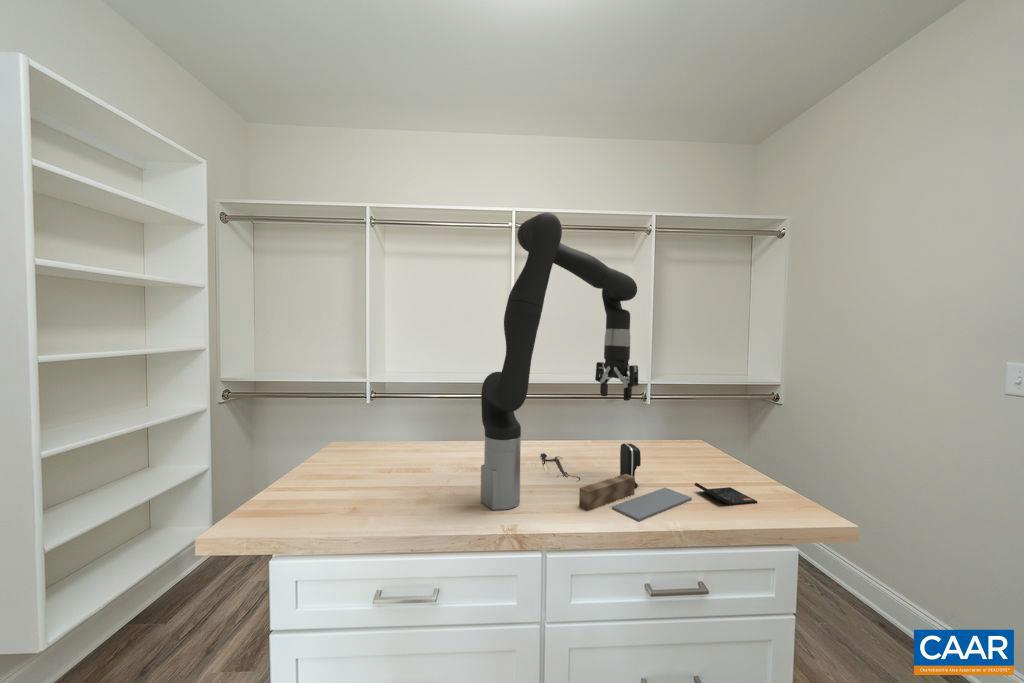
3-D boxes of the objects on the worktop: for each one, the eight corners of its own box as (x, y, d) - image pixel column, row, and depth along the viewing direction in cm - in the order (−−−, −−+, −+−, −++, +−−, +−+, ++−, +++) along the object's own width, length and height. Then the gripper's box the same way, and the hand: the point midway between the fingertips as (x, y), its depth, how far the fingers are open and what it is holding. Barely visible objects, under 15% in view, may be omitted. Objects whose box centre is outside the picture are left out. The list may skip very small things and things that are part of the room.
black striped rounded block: (641, 488, 111) (642, 448, 111) (628, 489, 111) (629, 448, 111) (631, 479, 118) (632, 441, 118) (619, 479, 118) (620, 441, 118)
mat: (638, 521, 92) (638, 519, 92) (611, 508, 98) (611, 506, 98) (691, 499, 104) (691, 497, 104) (664, 489, 111) (665, 487, 111)
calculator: (757, 504, 103) (757, 493, 103) (718, 508, 100) (718, 496, 100) (730, 490, 112) (730, 479, 112) (694, 493, 109) (694, 482, 109)
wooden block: (587, 512, 97) (588, 491, 97) (579, 507, 99) (579, 487, 99) (634, 495, 107) (634, 477, 107) (625, 491, 110) (625, 473, 110)
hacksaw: (539, 456, 140) (539, 452, 140) (568, 456, 140) (568, 452, 140) (546, 482, 116) (546, 477, 116) (581, 482, 116) (581, 477, 116)
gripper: (590, 343, 122) (588, 395, 122) (628, 345, 111) (626, 402, 111) (607, 343, 127) (605, 394, 127) (645, 345, 115) (643, 401, 115)
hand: (615, 398), depth 119 cm, fingers open, 8 cm apart
